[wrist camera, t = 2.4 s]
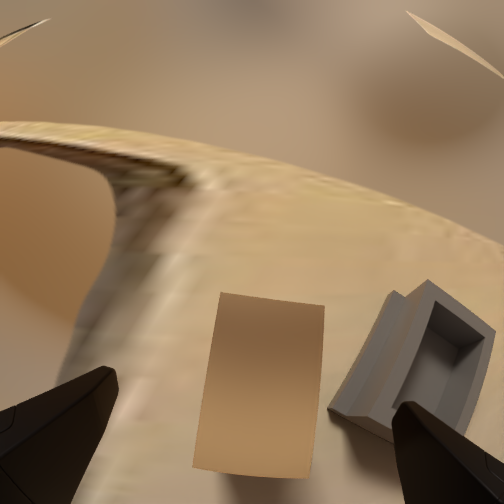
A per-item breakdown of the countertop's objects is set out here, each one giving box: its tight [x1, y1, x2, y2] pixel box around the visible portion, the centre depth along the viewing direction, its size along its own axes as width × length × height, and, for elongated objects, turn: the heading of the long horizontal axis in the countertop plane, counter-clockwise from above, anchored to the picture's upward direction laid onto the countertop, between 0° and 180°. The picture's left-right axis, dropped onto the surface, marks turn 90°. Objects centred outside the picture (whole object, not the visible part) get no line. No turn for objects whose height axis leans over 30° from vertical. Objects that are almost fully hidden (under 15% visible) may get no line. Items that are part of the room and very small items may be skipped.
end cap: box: [327, 279, 496, 444], centre depth 15 cm, size 9×9×4 cm
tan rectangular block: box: [192, 292, 325, 478], centre depth 11 cm, size 5×3×10 cm, turn 173°
